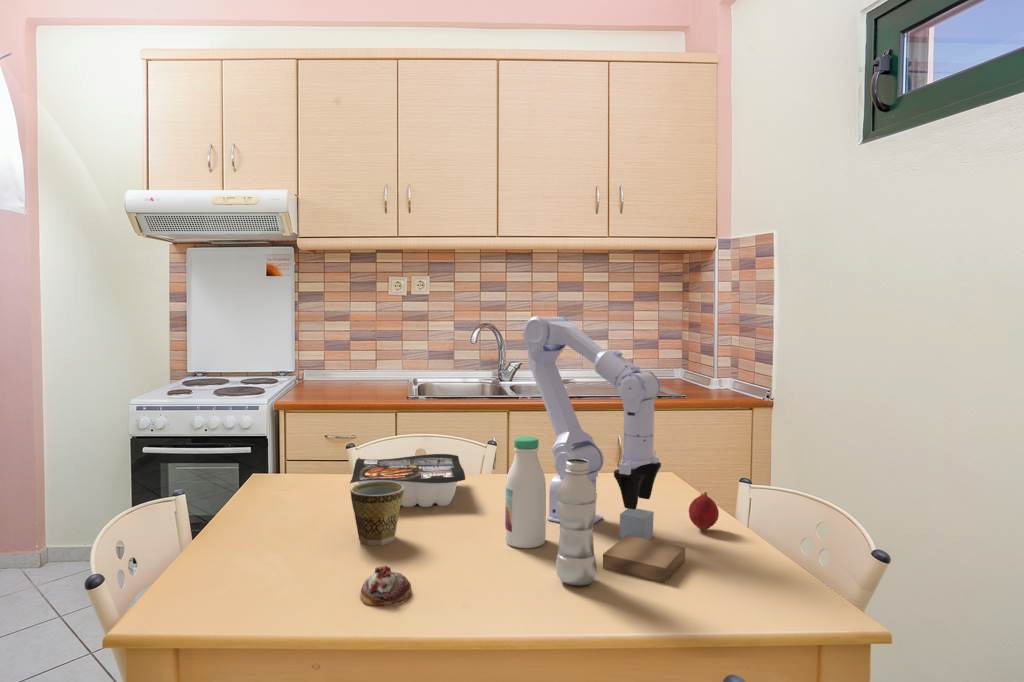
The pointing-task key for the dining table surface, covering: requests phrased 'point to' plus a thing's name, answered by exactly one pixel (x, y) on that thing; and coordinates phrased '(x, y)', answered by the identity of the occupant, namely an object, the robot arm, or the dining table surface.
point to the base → (644, 558)
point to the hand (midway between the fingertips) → (637, 503)
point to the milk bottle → (525, 497)
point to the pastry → (385, 587)
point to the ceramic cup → (376, 510)
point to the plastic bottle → (576, 525)
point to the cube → (636, 523)
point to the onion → (703, 512)
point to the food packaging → (415, 477)
